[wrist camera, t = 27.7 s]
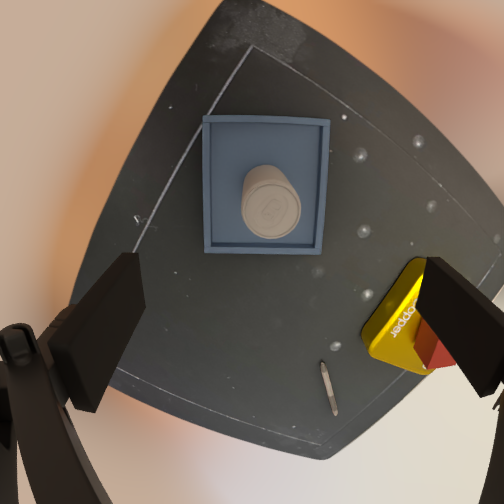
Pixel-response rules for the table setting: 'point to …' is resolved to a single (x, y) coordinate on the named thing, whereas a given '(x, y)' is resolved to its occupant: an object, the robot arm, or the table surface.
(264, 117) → the slate tray
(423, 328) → the red block
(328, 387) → the pen
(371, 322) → the element tile
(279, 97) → the table surface
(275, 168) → the beverage can
